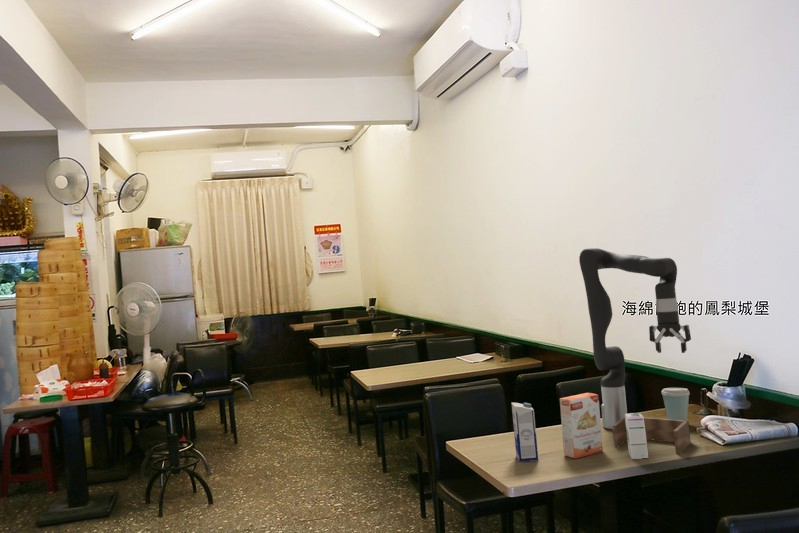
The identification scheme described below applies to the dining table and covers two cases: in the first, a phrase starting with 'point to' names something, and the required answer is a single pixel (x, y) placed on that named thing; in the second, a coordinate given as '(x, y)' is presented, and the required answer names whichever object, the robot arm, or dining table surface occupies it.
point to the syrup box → (636, 436)
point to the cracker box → (581, 425)
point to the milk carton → (524, 432)
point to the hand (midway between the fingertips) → (671, 352)
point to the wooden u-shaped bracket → (658, 432)
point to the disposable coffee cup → (676, 403)
